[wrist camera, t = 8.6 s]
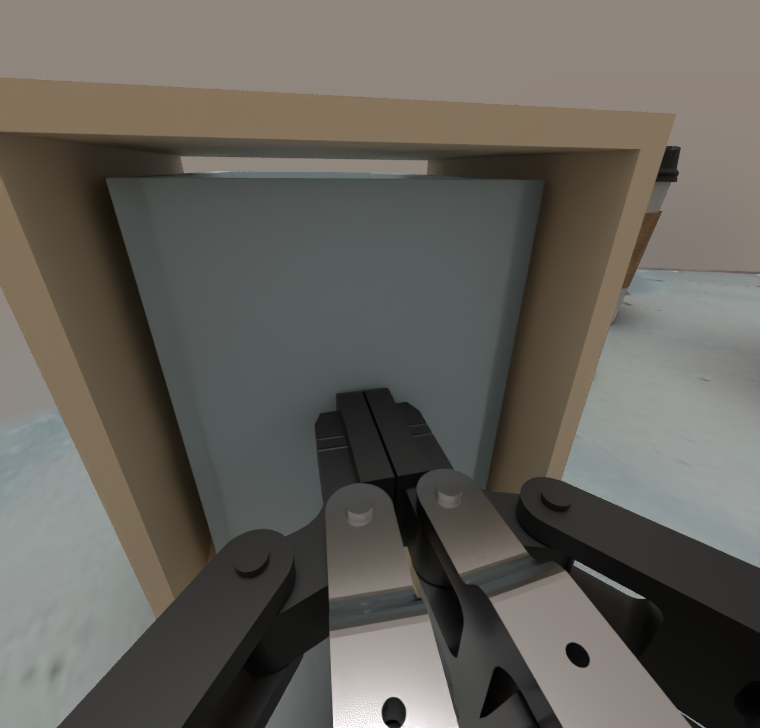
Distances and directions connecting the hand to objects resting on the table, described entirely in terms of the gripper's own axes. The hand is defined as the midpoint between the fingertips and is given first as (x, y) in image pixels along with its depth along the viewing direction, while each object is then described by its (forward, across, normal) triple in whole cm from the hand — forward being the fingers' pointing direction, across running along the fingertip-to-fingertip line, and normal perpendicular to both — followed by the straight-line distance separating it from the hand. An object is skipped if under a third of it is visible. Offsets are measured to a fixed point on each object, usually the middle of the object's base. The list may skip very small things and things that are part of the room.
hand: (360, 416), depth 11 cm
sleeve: (+4, 0, +6) cm, 8 cm away
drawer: (+9, 0, +6) cm, 11 cm away
